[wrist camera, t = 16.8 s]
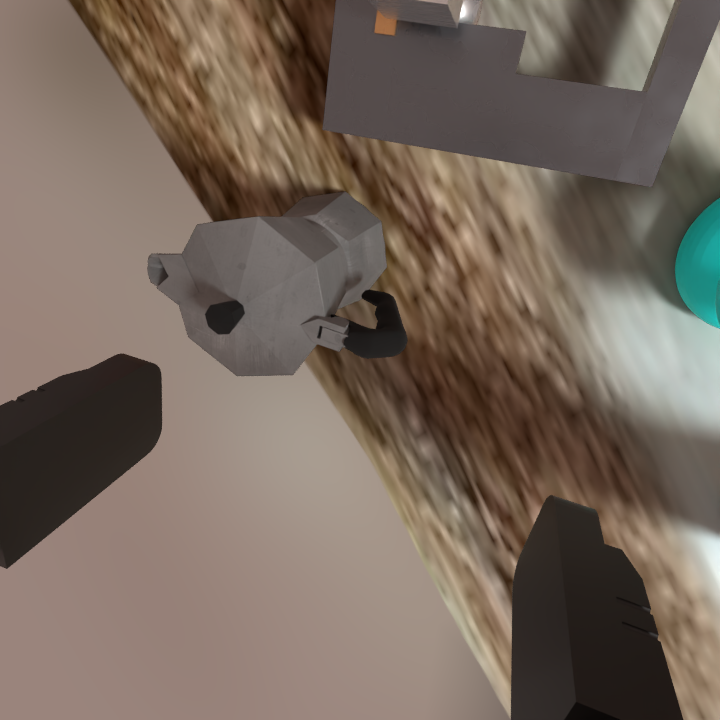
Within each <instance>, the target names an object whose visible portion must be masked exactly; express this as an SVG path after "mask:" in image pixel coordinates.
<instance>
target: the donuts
mask: <svg viewBox="0 0 720 720" xmlns="http://www.w3.org/2000/svg"><path fill="white" fill-rule="evenodd" d="M675 277H676V284H677V288H678V291H679V293H680V296H681V297H682V299H683V301H684V302H685V304H686V305H687V307H688V308H689V309H690V310H691V311H692V312H693V313H694V314H695V315H696V316H697V317H699V318H700V319H701V320H703V321H704V322H706V323H708V324H710V325H712V326H714V327H717V328H719V329H720V198H719V199H717V200H716V201H715V202H713V203H712V204H711V205H710V206H708V207H707V208H706V209H705V210H704V211H703V212H702V213H701V214H700V215H699V216H698V217H697V218H696V220H695V221H694V222H693V223H692V225H691V226H690V227H689V229H688V231H687V232H686V234H685V236H684V238H683V240H682V242H681V244H680V247H679V249H678V253H677V257H676V263H675Z"/></svg>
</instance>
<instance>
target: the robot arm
mask: <svg viewBox="0 0 720 720" xmlns="http://www.w3.org/2000/svg"><path fill="white" fill-rule="evenodd" d="M161 430H162V384H161V371H160V368H159V367H158V366H157V365H156V364H154V363H151V362H148V361H145V360H141V359H138V358H135V357H132V356H129V355H126V354H117V355H115V356H113V357H111V358H109V359H107V360H105V361H103V362H101V363H99V364H97V365H95V366H93V367H91V368H89V369H86V370H82V371H78V372H74V373H70V374H66V375H62V376H60V377H58V378H56V379H54V380H52V381H50V382H48V383H46V384H44V385H42V386H40V387H38V389H37V390H36V391H35V390H31V391H29V392H27V393H25V394H23V395H21V396H19V397H17V400H16V401H13V400H11V401H9V402H7V403H5V404H3V405H1V406H0V566H2V567H4V568H6V569H7V568H8V567H10V566H11V565H12V564H13V563H15V562H16V561H17V560H18V559H20V558H21V557H22V556H23V555H24V554H26V553H27V552H28V551H29V550H31V549H32V548H33V547H34V546H36V545H37V544H38V543H39V542H40V541H42V540H43V539H44V538H45V537H47V536H48V535H49V534H50V533H52V532H53V531H54V530H55V529H56V528H58V527H59V526H60V525H61V524H62V523H64V522H65V521H66V520H67V519H69V518H70V517H71V516H72V515H74V514H75V513H76V512H77V511H79V510H80V509H81V508H82V507H83V506H85V505H86V504H87V503H88V502H90V501H91V500H92V499H93V498H95V497H96V496H97V495H98V494H99V493H101V492H102V491H103V490H104V489H106V488H107V487H108V486H109V485H111V483H112V482H114V481H115V480H117V479H118V478H119V477H120V476H122V475H123V474H124V473H125V472H126V471H127V470H129V469H130V468H131V467H133V466H134V465H135V464H136V463H138V462H139V461H140V460H141V459H142V458H144V457H145V456H146V455H147V454H148V453H149V452H150V451H151V450H152V449H153V448H154V446H155V445H156V443H157V441H158V439H159V437H160V434H161ZM650 610H651V607H650V604H649V601H648V597H647V594H646V590H645V587H644V583H643V580H642V578H641V577H640V575H639V574H638V572H637V571H636V569H635V568H634V567H633V565H632V564H631V562H630V561H629V559H628V558H627V556H626V555H625V554H624V552H623V551H622V550H621V549H618V548H615V547H612V546H609V545H606V544H604V540H603V535H602V531H601V526H600V522H599V517H598V514H597V512H596V510H595V509H592V508H589V507H586V506H583V505H580V504H577V503H574V502H571V501H568V500H565V499H562V498H559V497H555V496H552V495H550V496H549V497H548V498H547V499H546V501H545V502H544V504H543V506H542V508H541V511H540V513H539V515H538V517H537V519H536V522H535V524H534V526H533V528H532V530H531V532H530V535H529V537H528V539H527V541H526V543H525V545H524V548H523V550H522V552H521V554H520V557H519V560H518V563H517V566H516V570H515V575H514V581H513V592H512V673H511V720H683V717H682V714H681V710H680V707H679V703H678V700H677V697H676V693H675V690H674V686H673V683H672V679H671V676H670V673H669V669H668V666H667V662H666V659H665V655H664V652H663V649H662V645H661V642H660V641H658V631H657V628H656V625H655V621H654V618H653V615H651V614H650Z"/></svg>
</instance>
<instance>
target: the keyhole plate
mask: <svg viewBox="0 0 720 720" xmlns="http://www.w3.org/2000/svg"><path fill="white" fill-rule="evenodd" d="M719 20H720V0H675V2H674V5H673V8H672V10H671V13H670V16H669V19H668V21H667V24H666V27H665V30H664V32H663V35H662V38H661V41H660V43H659V46H658V49H657V52H656V54H655V57H654V60H653V62H652V65H651V68H650V71H649V73H648V76H647V79H646V82H645V84H644V87H643V90H642V91H635V90H628V89H620V88H613V87H606V86H599V85H592V84H585V83H578V82H571V81H564V80H557V79H550V78H543V77H535V76H528V75H521V74H516V71H517V67H518V64H519V60H520V56H521V52H522V48H523V44H524V40H525V36H526V31H521V30H513V29H505V28H497V27H489V26H481V25H473V24H465V23H459V24H458V28H450V27H443V26H436V25H429V24H422V23H415V22H408V21H401V20H394V19H387V18H385V17H384V16H383V15H382V14H381V13H380V12H379V11H378V10H377V9H376V8H375V7H374V6H373V5H372V4H371V3H370V2H369V1H368V0H336V4H335V14H334V24H333V33H332V43H331V53H330V63H329V72H328V82H327V92H326V102H325V111H324V121H323V130H327V131H333V132H338V133H344V134H350V135H356V136H361V137H367V138H373V139H379V140H384V141H390V142H396V143H401V144H407V145H413V146H419V147H424V148H430V149H436V150H442V151H447V152H453V153H459V154H465V155H470V156H476V157H482V158H487V159H493V160H499V161H505V162H510V163H516V164H522V165H528V166H533V167H539V168H545V169H551V170H556V171H562V172H568V173H574V174H579V175H585V176H591V177H596V178H602V179H608V180H614V181H619V182H625V183H631V184H637V185H642V186H648V187H652V185H653V183H654V181H655V178H656V176H657V173H658V171H659V168H660V166H661V163H662V161H663V158H664V156H665V153H666V151H667V148H668V146H669V143H670V141H671V139H672V136H673V134H674V131H675V129H676V126H677V124H678V121H679V119H680V116H681V114H682V111H683V109H684V106H685V104H686V101H687V99H688V96H689V94H690V92H691V89H692V87H693V84H694V82H695V79H696V77H697V74H698V72H699V69H700V67H701V64H702V62H703V59H704V57H705V54H706V52H707V50H708V47H709V45H710V42H711V40H712V37H713V35H714V32H715V30H716V27H717V25H718V22H719Z"/></svg>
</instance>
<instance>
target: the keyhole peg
mask: <svg viewBox="0 0 720 720" xmlns="http://www.w3.org/2000/svg"><path fill="white" fill-rule="evenodd" d="M368 1H369V2H370V3H371V4H372V5H373V6H374V7H375V8H376V9H377V10H378V11H379V12H380V13H381V14H382V15H383V16H384V17H385V18H387V19H394V20H401V21H408V22H415V23H422V24H429V25H436V26H443V27H450V28H458V24H459V23H465V24H473V25H477V23H478V21H479V18H480V14H481V9H482V0H368Z"/></svg>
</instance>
